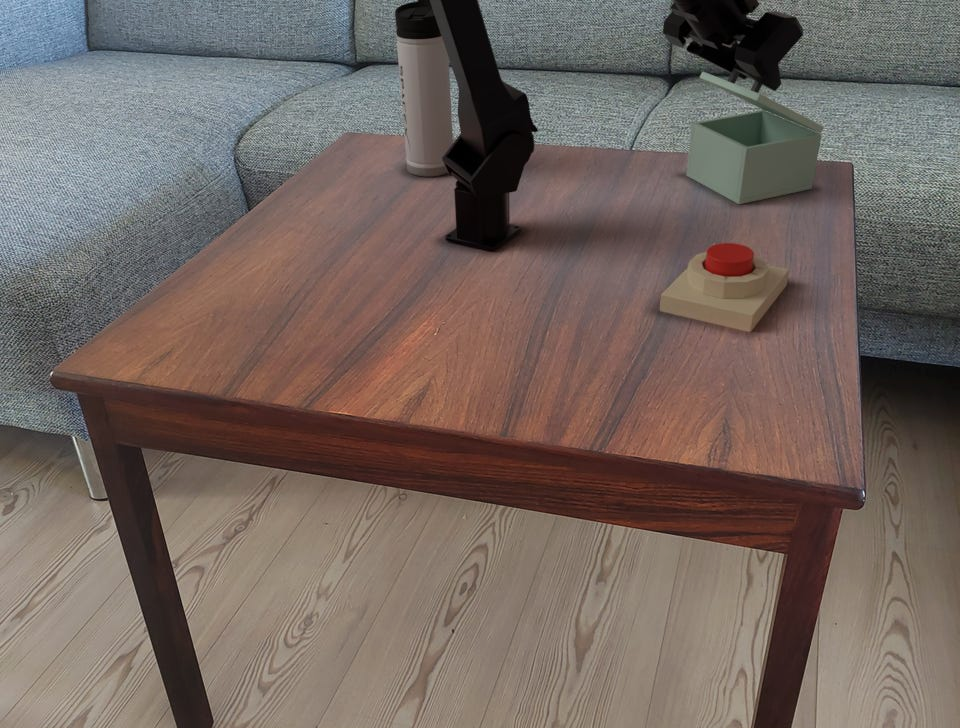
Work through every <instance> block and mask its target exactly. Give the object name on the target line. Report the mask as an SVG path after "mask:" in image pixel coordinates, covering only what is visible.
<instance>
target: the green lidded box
mask: <svg viewBox="0 0 960 728" xmlns="http://www.w3.org/2000/svg"><path fill="white" fill-rule="evenodd" d="M689 133H690V134H689V145H688V153H687V163H686V174H685V176H687V177H688V178H689V179H692V180H694V181H695V182H697V183H699V184H701V185H703V186H704V187H707V188H708V189H710V190H712V191H714V192H716V193H717V194H719V195H721V196H723V197H725V198H726V199H728V200H730V201H732V202H733V203H736V204H737V205H742V204H743V205H744V204H747V203H752V202H753V203H754V202H758V201H762V200H767V199H772V198H775V197H781V196H786V195H790V194H795V193H799V192H804V191H809V190H812V189H813V184H814V179H815V172H816V168H817V163H818V157H819V153H820V146H821V141H822V135H823V134H821V133H818V132H816V131H814V130H811V129H809V128H806V127H804V126H801V125H799V124H797V123H794V122H792V121H789V120H787V119H784V118H782V117H780V116H777V115H775V114H772V113H770V112H767V111H765V110H763V109H761V110H755V111H750V112H749V111H748V112H744V113H739V114H734V115H727V116H722V117H717V118H711V119H705V120H700V121H695V122H691V123H690V132H689Z"/></svg>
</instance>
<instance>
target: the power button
mask: <svg viewBox="0 0 960 728" xmlns="http://www.w3.org/2000/svg"><path fill="white" fill-rule="evenodd" d="M706 252H707V254H706V262H705V270H707V271H709V272H710V273H712V274H715V275H720V276H725V277H740V276H744V275H747V274H750V273H751V271H752V266H753V259H754V255H755V252H754V250H752V249H751V248H750V247H749V246H747V245H743V244H739V243H733V242H724V243H723V242H722V243H717V244H713V245H711V246H709V247H708V248H707V250H706Z"/></svg>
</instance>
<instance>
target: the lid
mask: <svg viewBox="0 0 960 728" xmlns="http://www.w3.org/2000/svg"><path fill="white" fill-rule="evenodd" d="M737 64H738V63H737V62H736V64H735V66H736V65H737ZM735 66H734V67H735ZM739 74H740V72H738V71H736V70H735V69H734V68H733V70H732V72H731V73H730V74H729V76H728V78H727V80H726V79H723V78H722V77H719V76H716V75H713V74H711V73H708V72H706V71H701V74H700V75H699V79H700V80H703V81H705V82H706V83H709V84H711V85H712V86H715V87H717V88H718V89H720V90H723V91H725V92H726V93H729V94H730V95H733V96H735V97H737V98H738V99H740V100H743V101H745V102H747V103H749V104H750V105H753V106H754V107H756V108H758V109H761V110H764V111H767V112H769V113H771V114H774V115H776V116H779V117H781V118H783V119H786V120H788V121H791V122H793V123H796V124H798V125H800V126H803V127H805V128H808V129H810V130H813V131H815V132H817V133H820V134H821V133H822V132H823V130H824V128H825V126H824V125H821V124H819V123H818V122H816V121H813V120H812V119H811V118H808V117H806V116H804V115H802V114H801V113H798V112H797V111H794V110H793V109H790V108H789V107H787V106H785V105H783V104H781V103H779V102H778V101H775V100H773V99H771V98H769V97H767V96H765V95H763V94H762V93H760V90H761V88H762V86H763V85H762V84H760V83H758V82H756V81H755V80H754V82H753V84H752V86H751V88H750V89H749V88H747V87H744V86H741V85H738V84H736V82H737V80H738V78H739V77H738V76H739Z"/></svg>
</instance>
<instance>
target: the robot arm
mask: <svg viewBox="0 0 960 728" xmlns="http://www.w3.org/2000/svg"><path fill="white" fill-rule="evenodd" d="M672 1H673V3H672V4H671V5H670V6H669V8H670V10H671V12H670V13H669V15H667V17H665V19H664V21H663V26H662V27H663V28H662V34H663V35H664V37H665V38H666V39H667V41H668V42H669V44H670V45H673V46H675V47H678V48H681V49H684V48H685V46H686V45H687V40H688V42H689V44H688V45H687V47H686V49H685V50H686V51H687V53H689V54H691V55H694V56H696V57H697V58H700V59H702V60H704V61H706V62H708V63H710V64H712V65H714V66H716V67H717V68H720V69H722V70H724V71H726V72H728V73H730V74H731V72H732V70H733V68H734V69H735V70H736V71H738V72H740V74H739V76H738V78H740V79H742V80H746V79H747V78H749V79H751V80H753V81H754V82H755V81H756V82H758V83H760V84H762V86H764V87H765V88H768V89H769V90H771V91H774V92H775V91H777V90H778V89H779V88H780V87H781V86H782V79H781V72H780V65H779V63H780V62H781V61H782V60H783V59H784V58H785V56H786V55H787V54H788V53H789V52H790V51H791V50H792V49H793V48H794V46H795V45H796V44H797V43H798V41H800V39H801V38H802V37H803V36H804V28H803V26H802V25H801V22H800V21H799V20H798V18H797V16H795V15H794V16H793V15H789V14H786V13H783V12H779V11H776V10H775V11H773V10H772V11H764V14H763V15H762V16H761V17H760V18H759V19H758V20H756V19H752V18H749V17H748V15H749V14H753V13H754V12H755V11H756V9H757V8H759V6H760V2H759V1H758V0H672ZM430 3H431V6H432V9H433V12H434V15H435V18H436V21H437V24H438V27H439V30H440V33H441V36H442V39H443V42H444V45H445V48H446V51H447V54H448V57H449V64H450V65H451V69H452V72H453V76H454V77H455V82H456V84H457V89H458V99H457V118H458V124H459V131H460V134H459V135H458V137H457V138H456V139H455V140H454V141H453V144H452V146H451V147H450V148H449V150H448V151H447V152H446V153H445V155H444V156H443V158H442V161H443V163H444V165H445V168H446V170H447V172H448V173H447V174H448V175H449V176H450V177H453V179H455V180H456V182H455V188H454V189H453V192H454V193H453V194H454V209H455V210H454V211H455V213H454V215H455V229H453V230H451V231H450V232H448V233H447V234H446V235H445V236H444V237H445V241H446V242H450V243H454V244H459V245H464V246H469V247H474V248H476V249H477V248H478V249H481V250H486V251H495V250H497V249H498V248H500V247H501V246H503V245H504V244H505V243H507V242H508V241H510V240H511V239H512V238H514V237H516V236H517V235H518V234H519V233H521V232H522V226H520V225H516V224H511V223H510V222H511V221H510V219H511V215H510V213H511V212H510V194H511V193H514V192H517V190H518V188H519V185H520V181H521V178H522V175H523V172H524V169H525V165H526V164H527V163H528V162H529V160H530V159H531V156H532V154H533V153H534V151H535V136H534V134H533V133H538V132H539V129H538V127H537V126H536V125H535V124H534V122H533V119H532V116H531V110H530V102H529V99H528V96H527V94H526V93H525V92H523V91H521V90H520V89H517V88H516V87H514V86H513V85H511V84H509V83H507V82H505V81H503V79H502V77H501V74H500V71H499V67H498V64H497V60H496V57H495V53H494V50H493V47H492V44H491V40H490V37H489V33H488V31H487V27H486V23H485V20H484V16H483V13H482V10H481V7H480V3H479V1H478V0H430ZM736 62H737V63H738V64H737V65H736V66H735V64H736ZM734 66H735V67H734Z"/></svg>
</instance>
